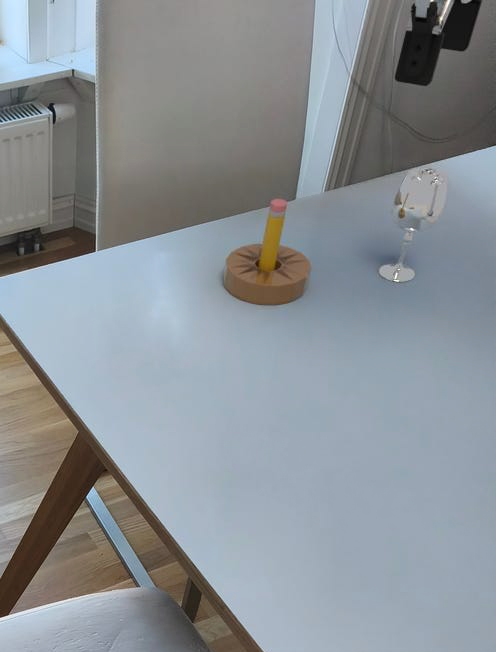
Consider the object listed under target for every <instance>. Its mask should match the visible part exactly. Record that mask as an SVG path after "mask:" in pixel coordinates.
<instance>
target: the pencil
mask: <svg viewBox="0 0 496 652" xmlns="http://www.w3.org/2000/svg"><path fill="white" fill-rule="evenodd" d="M287 206H288V202H287V200H285V199H283V198H274V199H272V200H271V201H270V206H269V209H268V214H267V219H266V220H267V221H266V224H265V230H264V234H263V240H262V244H263V245H262V250H261V256H260V261H259V266H258V268H259V269H262V270H266V271H273V270H274V268H275V263H276V258H277V253H278V249H279V245H280V243H281V238H282V233H283V229H284V223H285V218H286V214H287V208H288V207H287Z"/></svg>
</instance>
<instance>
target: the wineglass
mask: <svg viewBox="0 0 496 652" xmlns="http://www.w3.org/2000/svg"><path fill="white" fill-rule="evenodd" d="M448 185H449V176H448V175H447V174H446V173H445V172H444V171H442V170H439V169H437V168H432V167H431V168H430V167H415V168H412V169H410V170H408V172H407V173H406V175H405V177H404V178H403V180H402V182H401V184H400V186H399V187H398V190H397V192H396V195H395V197H394V200H393V203H392V209H391V217H392V220H393V222H394V224H395V225H396V226H397V227H398V228H399V229H400V230H403V231H405V232H406V233H404V236H403V237H402V238H403V239H402V249H401V253H400V256H399V258H398V261H397V263H386V264H383V265H381V266H380V267H379V269H378V274H379V275H380V277H382V278H383V279H385V280H388V281H390V282H395V283H405V282H411V281H412V280H413V279H414V278H415V277H416V272H415V270H414V269H413V268H411V267H410V266H408V265H404V263H403V261H404V258H405V254H406V251H407V249H408V248H409V245H410V243H412V241H413V237H414V234H413V233H419V232H424V231H427V230H429V229H431V228H432V227H434V225H435V224H436V223H437V222H438V221H439V219H440V218H441V216H442V213H443V211H444V208H445V205H446V201H447V196H448Z"/></svg>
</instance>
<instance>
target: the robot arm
mask: <svg viewBox="0 0 496 652" xmlns="http://www.w3.org/2000/svg"><path fill="white" fill-rule="evenodd" d="M482 3H483V0H415V1H414V2H413V3H412V5H411V7H410V9H411V10H410V15H409V18H408V21H407V24H406V29H405V33H404V37H403V41H402V44H401V49H400V53H399V57H398V62H397V66H396V70H395V74H394V80H395V81H396V82H398V83H403V84H410V85H416V86H420V87H421V86H422V87H427V86H429V85H430V84H431V83H432V82H433V79H434V75H435V71H436V68H437V66H438V65H437V64H438V61H439V57H440V53H441V50H449V51H453V52H454V51H455V52H463V53H464V52H465V51H466V50H467V49H468V48H469V46H470V44H471V40H472V36H473V33H474V30H475V26H476V24H477V20H478V16H479V13H480V9H481V6H482ZM438 4H439V5H441V7H440V9H439V6H438ZM438 10H439V11H438Z"/></svg>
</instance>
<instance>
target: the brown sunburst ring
mask: <svg viewBox="0 0 496 652" xmlns="http://www.w3.org/2000/svg"><path fill="white" fill-rule="evenodd" d="M262 245H263V243H253V244H248V245H243V246H240V247H238V248H236V249H234V250H233V251H231V252H230V253H229V255H228V256H227V257H226V259H225V263H224V270H223V275H222V276H223V277H222V278H223V280H222V284H223V286H224V288H225V290H226V291H227V292H228V293H229V294H230V295H231V296H232V297H235V298H236V299H239V300H240V301H243V302H246V303H249V304H254V305H261V306H278V305H284V304H288V303H291V302H294V301H296V300H297V299H300V298H301V297H302V296H303V295H304V294H305V292H306V290H307V288H308V285H309V281H310V277H311V273H312V266H311V265H312V264H311V261H310V259H309V258H307V257H306V255H304V254H303V253H302V252H300V251H298V250H297V249H294V248H291V247H289V246H285V245H280V244H279V249H278V253H277V258H276V263H275V268H274V270H273V271H266V270H262V269H259V268H258V266H259V261H260V256H261V250H262Z"/></svg>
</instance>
